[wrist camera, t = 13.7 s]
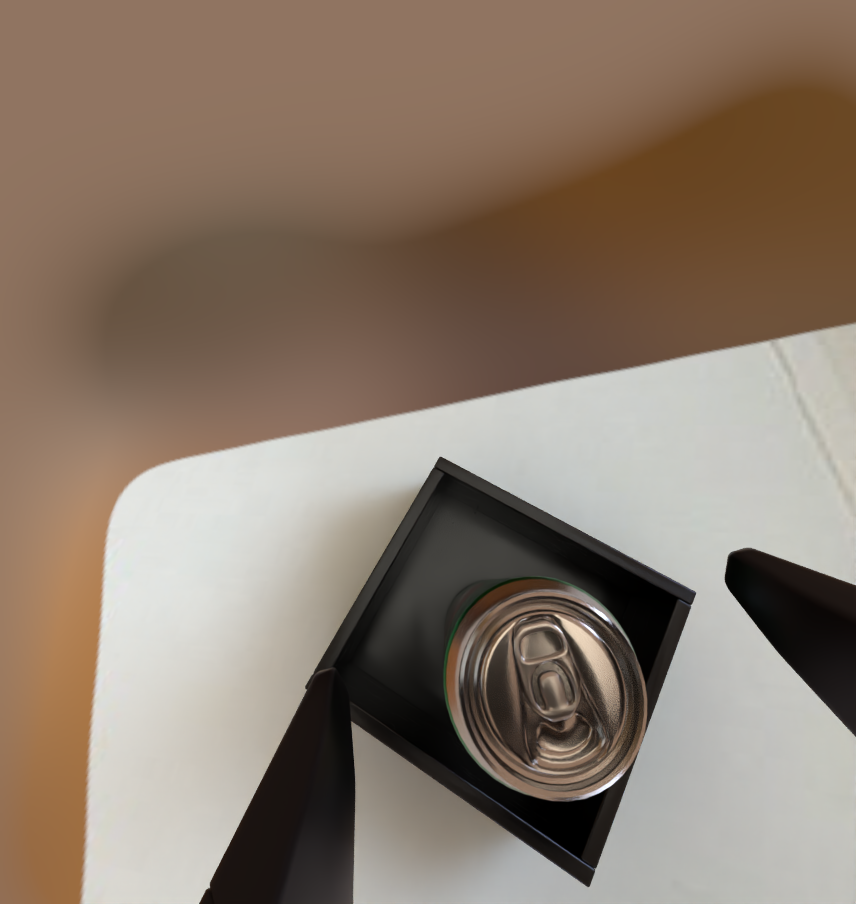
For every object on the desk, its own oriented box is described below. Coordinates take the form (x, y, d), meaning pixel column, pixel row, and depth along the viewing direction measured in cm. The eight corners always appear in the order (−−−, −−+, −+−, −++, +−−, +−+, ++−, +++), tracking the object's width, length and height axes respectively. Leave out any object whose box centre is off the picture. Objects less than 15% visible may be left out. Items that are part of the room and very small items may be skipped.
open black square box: (553, 811, 19) (589, 889, 14) (335, 664, 21) (303, 688, 16) (641, 590, 22) (697, 592, 17) (441, 480, 24) (439, 455, 19)
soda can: (457, 698, 20) (475, 852, 9) (434, 591, 21) (421, 602, 10) (557, 673, 20) (705, 791, 9) (526, 569, 22) (617, 554, 10)
